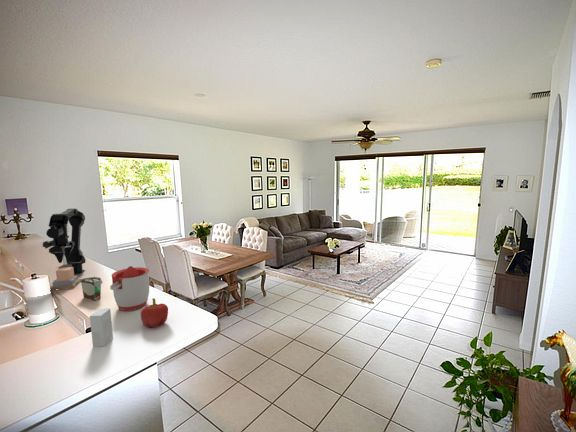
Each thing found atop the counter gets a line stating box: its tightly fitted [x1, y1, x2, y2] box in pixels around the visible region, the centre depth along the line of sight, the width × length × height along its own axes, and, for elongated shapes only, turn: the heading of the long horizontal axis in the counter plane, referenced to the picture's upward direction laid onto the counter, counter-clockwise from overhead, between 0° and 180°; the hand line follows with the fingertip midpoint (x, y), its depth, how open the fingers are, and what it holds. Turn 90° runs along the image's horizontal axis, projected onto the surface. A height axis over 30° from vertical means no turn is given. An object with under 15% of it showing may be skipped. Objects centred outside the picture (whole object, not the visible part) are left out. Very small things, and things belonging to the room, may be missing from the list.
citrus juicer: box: [110, 265, 150, 312], centre depth 132 cm, size 16×17×20 cm
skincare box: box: [89, 307, 114, 347], centre depth 103 cm, size 6×4×12 cm
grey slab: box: [51, 275, 78, 287], centre depth 159 cm, size 9×9×2 cm
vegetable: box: [140, 297, 169, 328], centre depth 116 cm, size 11×10×10 cm
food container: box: [80, 276, 103, 302], centre depth 143 cm, size 12×6×10 cm, turn 65°
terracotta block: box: [55, 266, 75, 281], centre depth 158 cm, size 6×6×6 cm
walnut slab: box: [50, 278, 82, 291], centre depth 159 cm, size 11×11×2 cm
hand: (63, 260), depth 164 cm, fingers open, 9 cm apart
